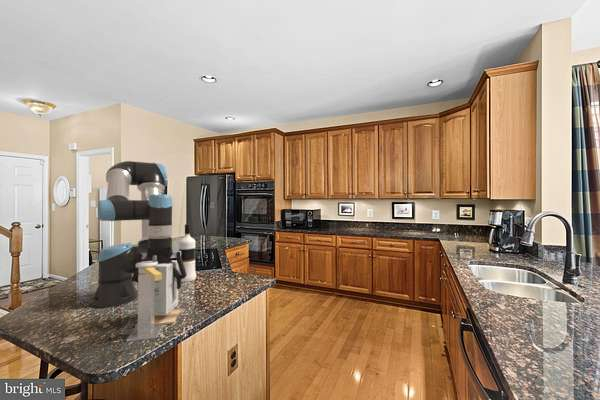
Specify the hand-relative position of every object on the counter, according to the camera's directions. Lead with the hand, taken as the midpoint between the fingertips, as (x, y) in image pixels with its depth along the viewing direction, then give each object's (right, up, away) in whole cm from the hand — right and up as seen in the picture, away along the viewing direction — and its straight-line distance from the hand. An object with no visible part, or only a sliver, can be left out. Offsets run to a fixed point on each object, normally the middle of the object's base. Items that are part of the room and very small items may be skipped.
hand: (159, 299), depth 91 cm
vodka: (-11, -8, +46) cm, 48 cm away
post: (+2, -6, -11) cm, 13 cm away
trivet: (0, -7, 0) cm, 7 cm away
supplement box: (0, -4, 0) cm, 4 cm away
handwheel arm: (+5, +13, -14) cm, 20 cm away
